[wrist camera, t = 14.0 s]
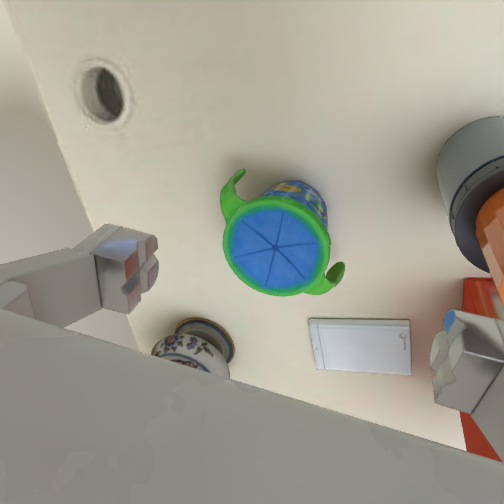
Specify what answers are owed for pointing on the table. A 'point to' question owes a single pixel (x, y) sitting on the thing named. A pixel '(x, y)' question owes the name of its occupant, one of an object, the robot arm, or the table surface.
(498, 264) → the cup
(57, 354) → the robot arm
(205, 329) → the apothecary jar
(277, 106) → the table surface
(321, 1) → the table surface
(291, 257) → the snack cup
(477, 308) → the file binder
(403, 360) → the hard drive
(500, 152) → the jar
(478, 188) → the jar lid
